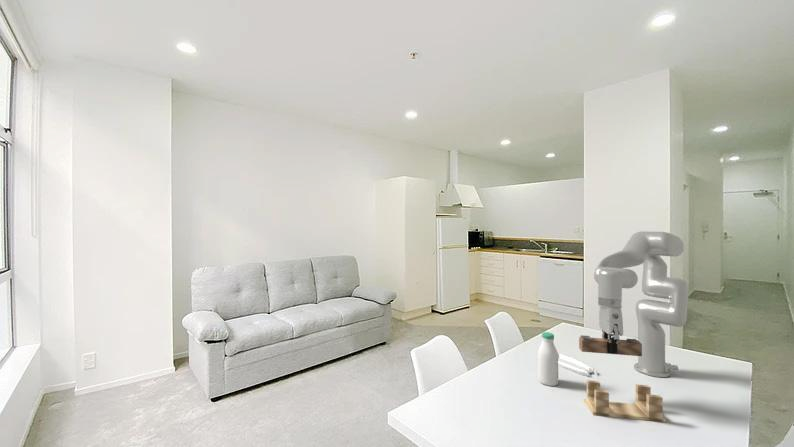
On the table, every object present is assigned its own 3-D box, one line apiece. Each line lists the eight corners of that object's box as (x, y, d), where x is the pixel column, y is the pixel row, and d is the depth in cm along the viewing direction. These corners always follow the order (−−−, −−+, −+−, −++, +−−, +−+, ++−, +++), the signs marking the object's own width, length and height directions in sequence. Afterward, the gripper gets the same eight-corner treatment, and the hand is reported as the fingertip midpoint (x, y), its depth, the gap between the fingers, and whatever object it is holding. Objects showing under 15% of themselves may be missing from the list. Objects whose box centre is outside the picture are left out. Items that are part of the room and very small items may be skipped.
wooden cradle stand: (651, 408, 117) (651, 385, 117) (666, 422, 108) (666, 398, 108) (583, 401, 121) (583, 379, 121) (592, 414, 112) (592, 391, 113)
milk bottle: (557, 388, 131) (557, 338, 131) (536, 383, 135) (536, 334, 135) (559, 380, 137) (559, 332, 137) (539, 376, 141) (539, 329, 142)
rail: (637, 352, 124) (637, 339, 124) (641, 356, 121) (641, 342, 121) (579, 348, 128) (579, 335, 128) (582, 351, 125) (582, 338, 125)
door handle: (553, 354, 166) (601, 375, 143) (539, 357, 162) (585, 379, 139) (553, 349, 166) (601, 369, 143) (539, 352, 162) (585, 372, 140)
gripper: (631, 308, 116) (631, 360, 116) (611, 298, 132) (611, 344, 132) (607, 307, 117) (607, 358, 117) (590, 297, 133) (590, 342, 133)
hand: (609, 350), depth 124 cm, fingers closed on rail, 3 cm apart
